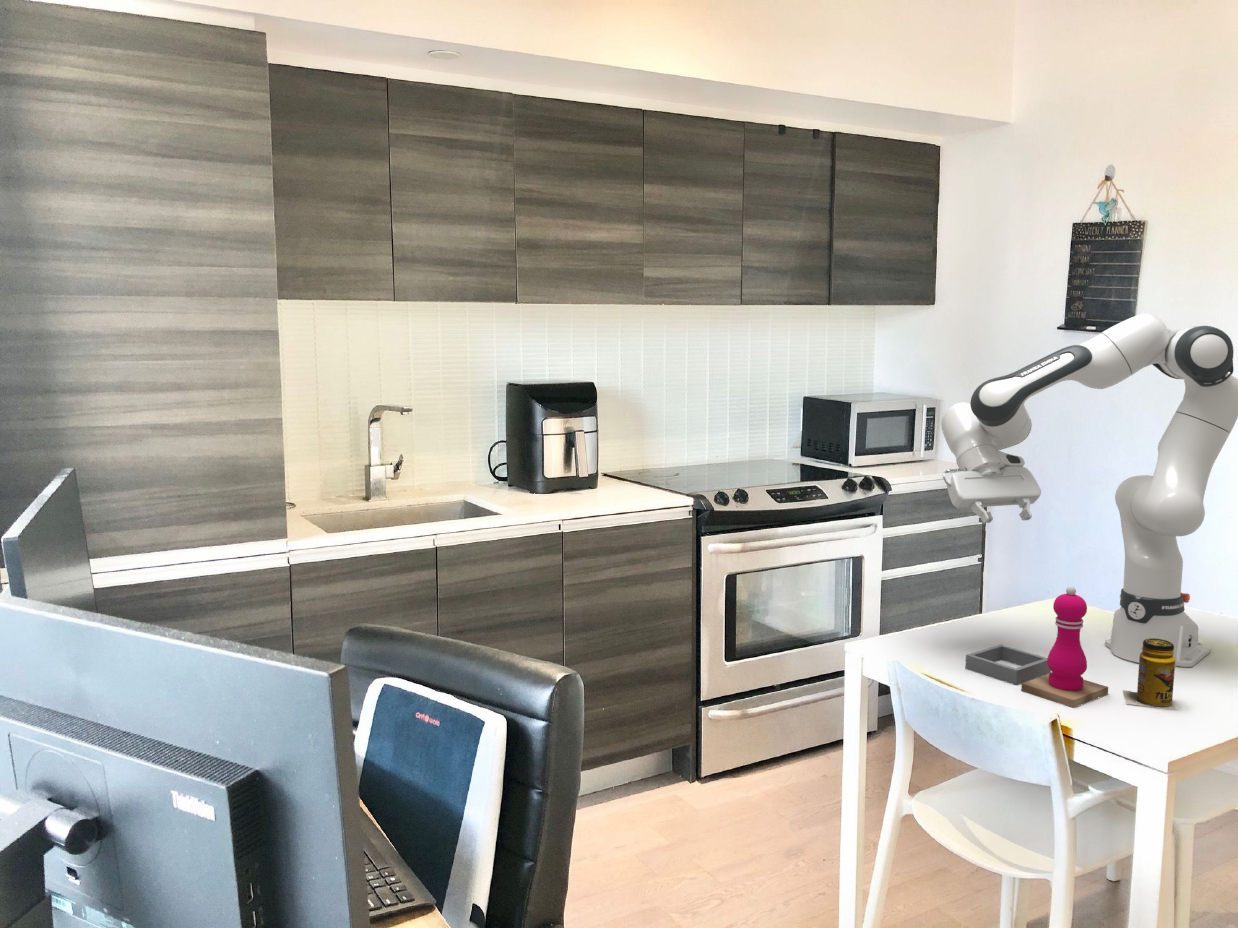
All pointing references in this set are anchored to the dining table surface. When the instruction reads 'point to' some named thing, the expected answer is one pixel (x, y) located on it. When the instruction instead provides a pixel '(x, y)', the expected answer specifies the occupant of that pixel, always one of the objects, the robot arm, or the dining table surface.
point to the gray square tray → (986, 665)
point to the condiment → (1154, 676)
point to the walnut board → (1064, 691)
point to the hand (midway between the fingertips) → (1008, 520)
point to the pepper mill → (1068, 643)
